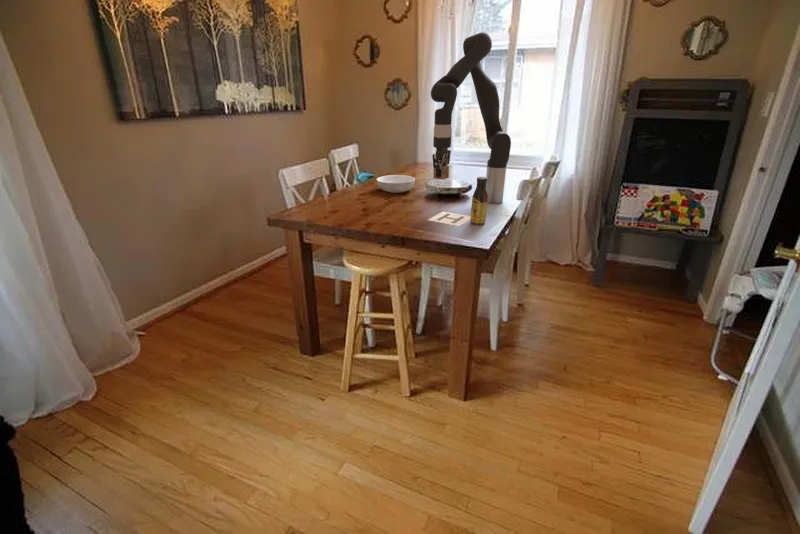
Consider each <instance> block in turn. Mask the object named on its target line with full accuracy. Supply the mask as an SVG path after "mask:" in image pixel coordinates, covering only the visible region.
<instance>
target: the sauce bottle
mask: <svg viewBox="0 0 800 534" xmlns="http://www.w3.org/2000/svg"><path fill="white" fill-rule="evenodd" d="M486 182H487V178H486V176H478V177H476V187H475V189H474V191H473V195H472V198H471V208H470V216H471V218H470V220H469V221H470V223H469V224H471V225H472V226H477V227H478V226H484V225H485V223H486V220H487V219H486V218H487V208H488V202H487V199H488V194H487V191H486Z"/></svg>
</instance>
